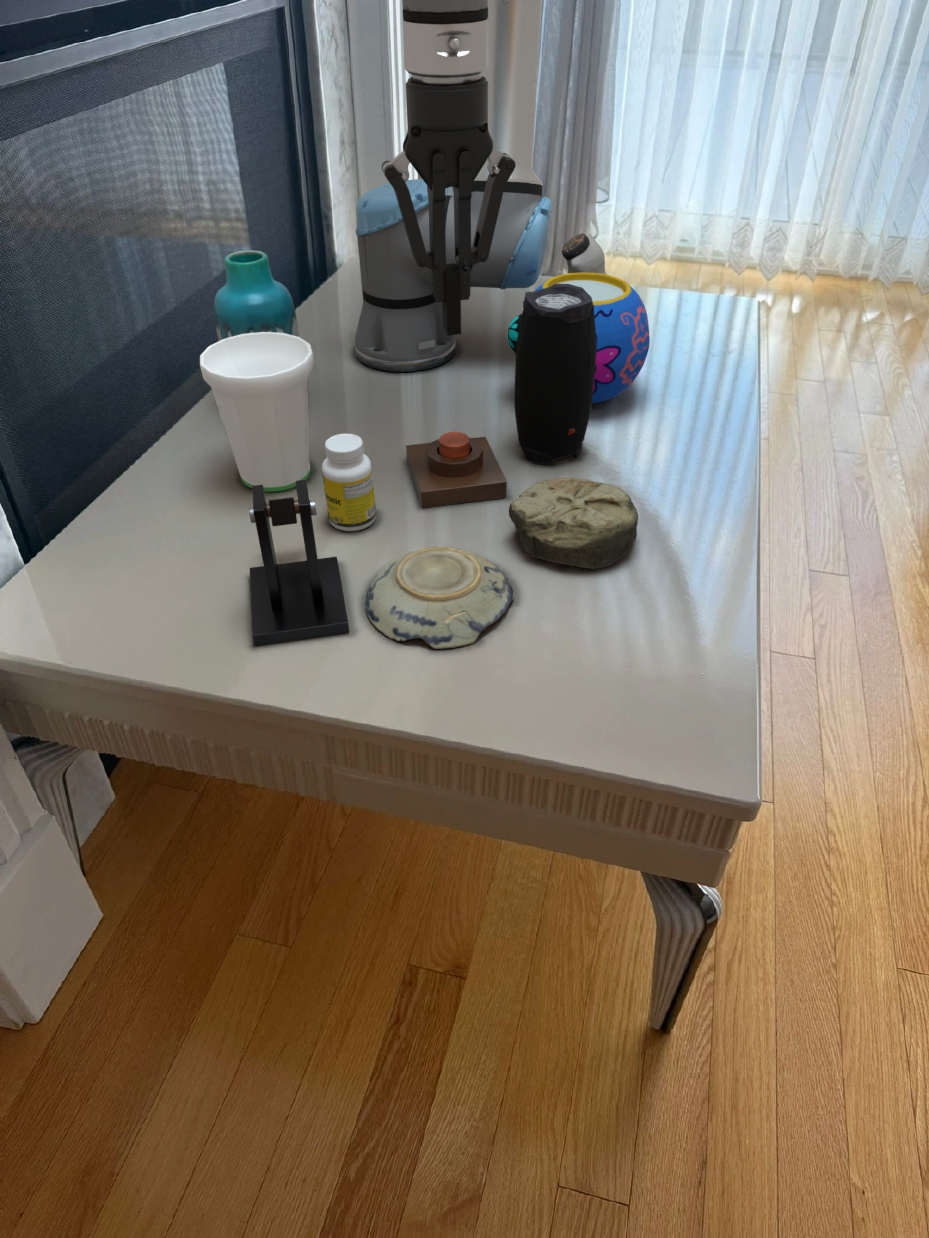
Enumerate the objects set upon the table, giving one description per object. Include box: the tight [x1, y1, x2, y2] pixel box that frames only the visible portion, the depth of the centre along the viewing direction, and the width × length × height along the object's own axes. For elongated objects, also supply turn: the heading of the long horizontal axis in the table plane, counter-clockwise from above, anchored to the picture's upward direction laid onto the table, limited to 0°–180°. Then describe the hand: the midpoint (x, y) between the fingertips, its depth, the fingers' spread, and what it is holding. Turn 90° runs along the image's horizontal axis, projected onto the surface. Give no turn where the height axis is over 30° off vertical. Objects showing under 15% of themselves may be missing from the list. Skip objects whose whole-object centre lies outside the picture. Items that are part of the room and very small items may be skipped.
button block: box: [405, 436, 507, 509], centre depth 107 cm, size 11×10×4 cm
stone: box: [508, 477, 639, 570], centre depth 97 cm, size 13×13×5 cm
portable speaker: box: [513, 284, 597, 466], centre depth 107 cm, size 9×9×20 cm
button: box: [438, 431, 471, 459], centre depth 105 cm, size 4×4×2 cm
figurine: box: [561, 233, 608, 275], centre depth 135 cm, size 9×10×15 cm
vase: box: [213, 249, 300, 342], centre depth 119 cm, size 11×11×19 cm
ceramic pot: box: [506, 272, 651, 405], centre depth 120 cm, size 18×18×15 cm
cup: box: [199, 332, 315, 493], centre depth 104 cm, size 12×12×15 cm
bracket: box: [248, 480, 350, 647], centre depth 86 cm, size 11×9×13 cm
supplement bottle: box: [321, 433, 377, 532], centre depth 98 cm, size 5×5×10 cm
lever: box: [266, 496, 300, 527], centre depth 87 cm, size 12×5×2 cm
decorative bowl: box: [364, 546, 515, 650], centre depth 89 cm, size 15×4×15 cm
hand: (451, 330), depth 96 cm, fingers closed
